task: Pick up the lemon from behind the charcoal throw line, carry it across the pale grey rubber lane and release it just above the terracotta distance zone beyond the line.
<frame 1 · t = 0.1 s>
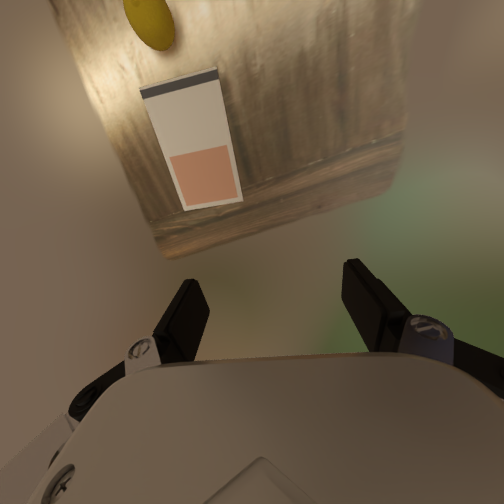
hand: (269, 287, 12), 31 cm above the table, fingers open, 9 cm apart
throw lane: (197, 151, 35), on the table
lemon: (165, 36, 28), on the table
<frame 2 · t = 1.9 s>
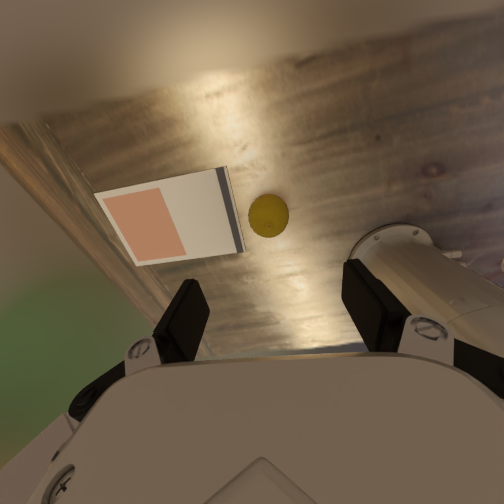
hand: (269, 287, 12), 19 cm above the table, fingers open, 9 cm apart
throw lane: (174, 223, 30), on the table
lemon: (268, 207, 28), on the table
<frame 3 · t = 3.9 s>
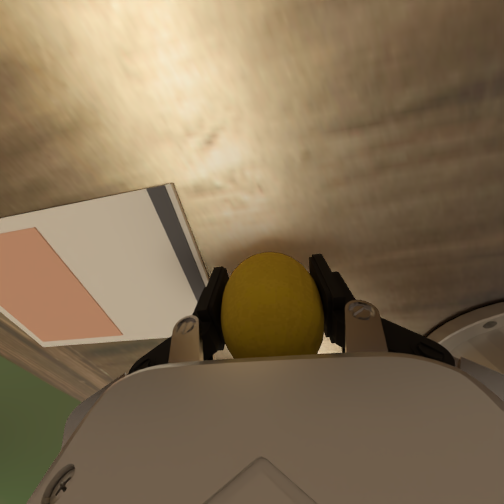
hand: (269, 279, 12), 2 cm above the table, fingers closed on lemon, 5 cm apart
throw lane: (90, 288, 16), on the table
lemon: (268, 264, 14), on the table, touching gripper
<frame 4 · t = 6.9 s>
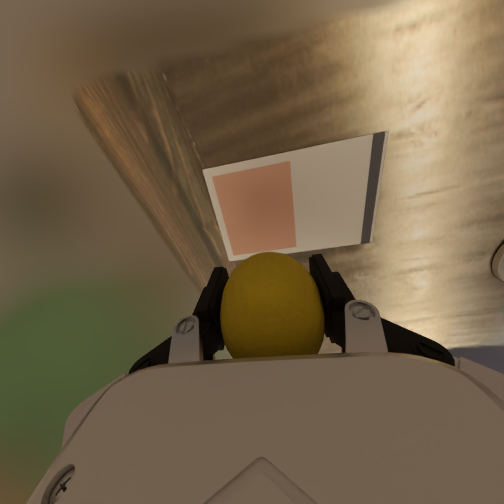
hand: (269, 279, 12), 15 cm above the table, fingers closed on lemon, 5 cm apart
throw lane: (293, 208, 25), on the table
lemon: (268, 263, 14), point 13 cm above the table, touching gripper
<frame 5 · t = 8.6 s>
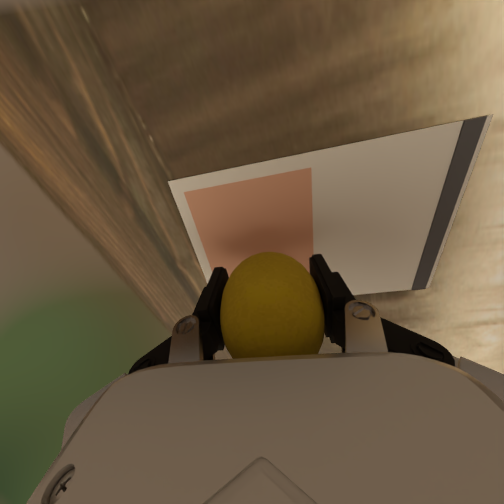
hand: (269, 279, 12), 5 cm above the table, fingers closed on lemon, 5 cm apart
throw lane: (312, 239, 16), on the table
lemon: (268, 264, 14), point 3 cm above the table, touching gripper
when the fingers open (3 cm above the table, at t = 9.9 s): lemon drops 1 cm, resting on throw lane.
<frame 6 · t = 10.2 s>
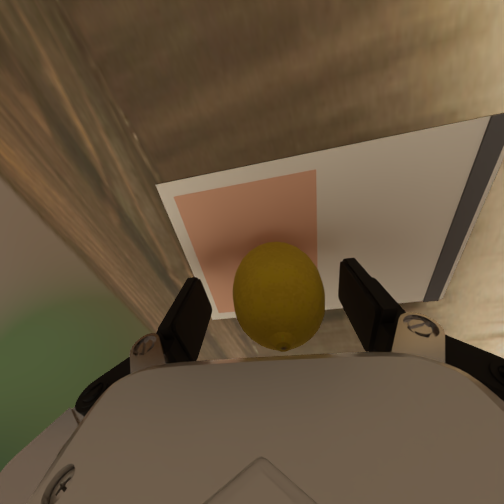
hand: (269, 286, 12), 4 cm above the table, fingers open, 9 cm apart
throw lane: (315, 247, 15), on the table
lemon: (272, 255, 15), resting on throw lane
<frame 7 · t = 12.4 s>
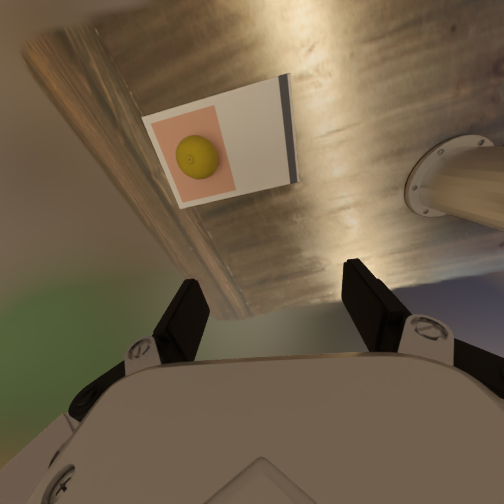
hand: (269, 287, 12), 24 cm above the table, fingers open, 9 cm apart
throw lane: (226, 151, 29), on the table
lemon: (205, 157, 29), resting on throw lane
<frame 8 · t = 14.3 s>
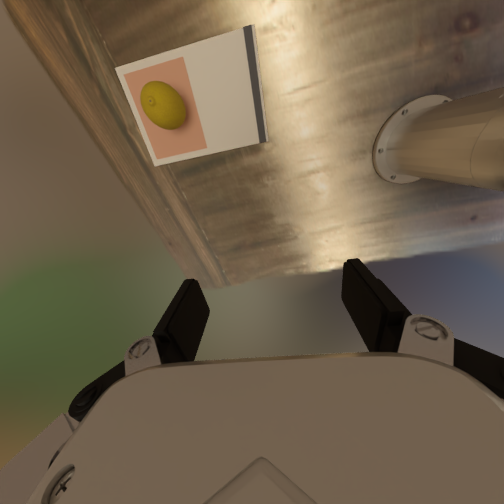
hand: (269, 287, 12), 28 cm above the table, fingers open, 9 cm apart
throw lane: (197, 107, 30), on the table
lemon: (176, 112, 30), resting on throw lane
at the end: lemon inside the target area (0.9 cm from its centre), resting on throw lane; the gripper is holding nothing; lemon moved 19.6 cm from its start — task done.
